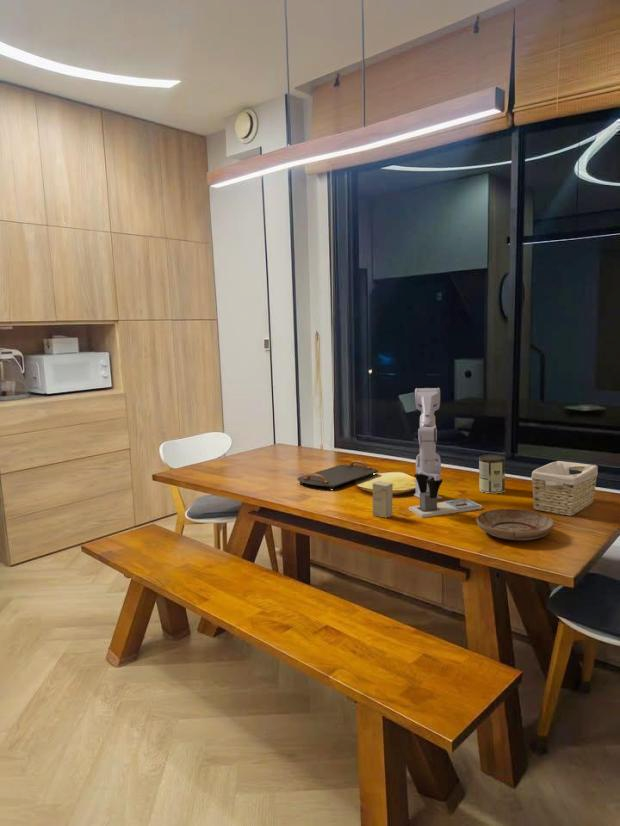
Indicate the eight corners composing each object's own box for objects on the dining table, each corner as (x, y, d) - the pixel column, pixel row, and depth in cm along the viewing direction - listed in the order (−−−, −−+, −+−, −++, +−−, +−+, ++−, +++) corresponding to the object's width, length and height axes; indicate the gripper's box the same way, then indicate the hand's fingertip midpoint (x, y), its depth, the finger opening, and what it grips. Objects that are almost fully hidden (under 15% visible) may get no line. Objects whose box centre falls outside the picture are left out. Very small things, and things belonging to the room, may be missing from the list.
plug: (419, 511, 209) (419, 493, 208) (431, 509, 210) (431, 491, 209) (425, 514, 205) (424, 495, 204) (437, 512, 206) (437, 494, 205)
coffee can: (490, 486, 238) (490, 453, 236) (510, 491, 230) (510, 457, 228) (473, 490, 233) (473, 457, 231) (493, 495, 224) (493, 461, 222)
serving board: (345, 468, 282) (345, 456, 281) (383, 475, 266) (383, 462, 265) (291, 485, 254) (291, 472, 253) (330, 493, 238) (329, 479, 237)
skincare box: (372, 515, 206) (371, 483, 204) (379, 512, 209) (378, 480, 207) (386, 518, 202) (386, 485, 200) (393, 515, 205) (392, 483, 203)
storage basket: (555, 495, 221) (555, 459, 219) (599, 503, 210) (600, 464, 208) (528, 510, 205) (529, 471, 203) (575, 519, 193) (576, 477, 191)
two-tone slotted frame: (408, 509, 211) (408, 506, 210) (466, 501, 218) (466, 497, 218) (421, 517, 201) (421, 513, 201) (482, 508, 208) (482, 504, 208)
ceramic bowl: (494, 517, 198) (494, 504, 198) (563, 530, 183) (564, 516, 182) (464, 537, 181) (464, 522, 181) (538, 553, 166) (538, 537, 165)
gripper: (408, 456, 210) (409, 491, 212) (427, 464, 197) (428, 501, 198) (425, 454, 212) (426, 489, 214) (445, 462, 199) (445, 499, 200)
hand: (428, 495), depth 206 cm, fingers open, 7 cm apart
